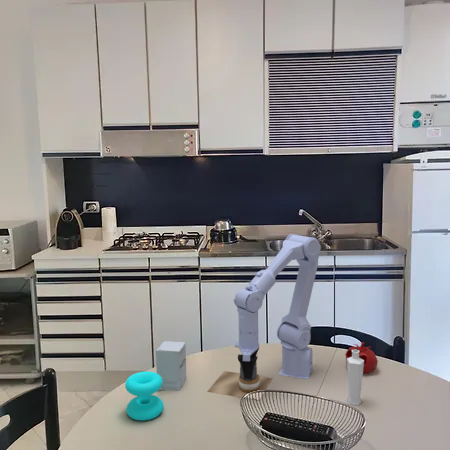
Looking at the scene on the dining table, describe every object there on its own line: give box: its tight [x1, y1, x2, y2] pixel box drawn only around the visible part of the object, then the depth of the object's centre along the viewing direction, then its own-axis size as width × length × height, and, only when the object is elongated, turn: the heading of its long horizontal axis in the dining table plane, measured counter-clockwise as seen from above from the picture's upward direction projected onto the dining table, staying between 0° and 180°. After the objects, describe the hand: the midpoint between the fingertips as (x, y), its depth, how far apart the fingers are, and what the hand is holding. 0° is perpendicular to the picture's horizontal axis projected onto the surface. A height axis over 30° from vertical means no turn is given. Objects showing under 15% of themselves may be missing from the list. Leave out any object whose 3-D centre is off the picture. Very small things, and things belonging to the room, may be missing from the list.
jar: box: [239, 373, 260, 393], centre depth 138 cm, size 6×6×5 cm
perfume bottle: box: [346, 349, 364, 406], centre depth 130 cm, size 5×4×15 cm
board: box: [207, 370, 273, 399], centre depth 140 cm, size 16×14×1 cm
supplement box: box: [155, 340, 187, 391], centre depth 141 cm, size 7×7×13 cm
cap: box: [239, 361, 258, 381], centre depth 138 cm, size 5×5×5 cm
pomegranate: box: [344, 341, 379, 375], centre depth 149 cm, size 10×10×9 cm
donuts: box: [124, 371, 164, 421], centre depth 127 cm, size 10×10×10 cm
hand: (249, 373), depth 138 cm, fingers closed on cap, 5 cm apart
